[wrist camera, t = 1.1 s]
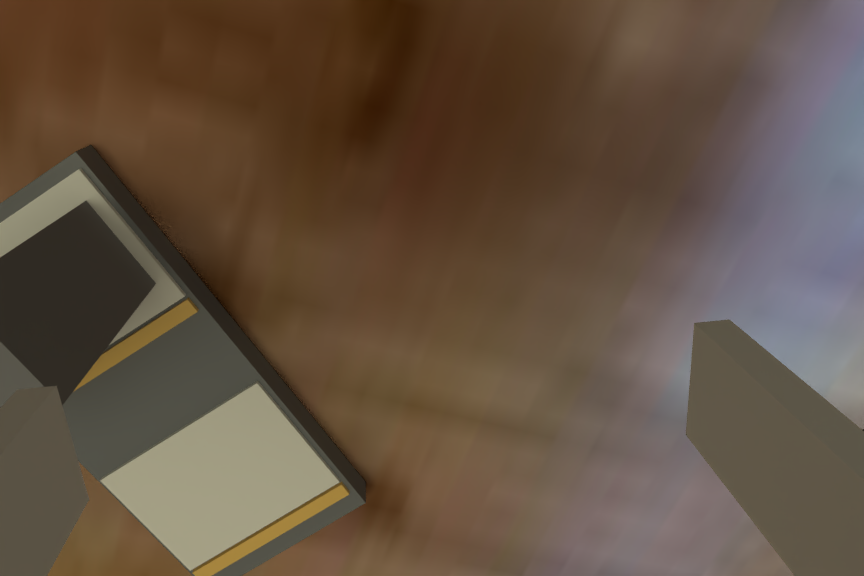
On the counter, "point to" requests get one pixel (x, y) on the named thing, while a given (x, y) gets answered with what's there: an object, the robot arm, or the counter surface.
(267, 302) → the counter surface
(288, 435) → the board with cream panels
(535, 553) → the counter surface
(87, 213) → the dark grey tall block
